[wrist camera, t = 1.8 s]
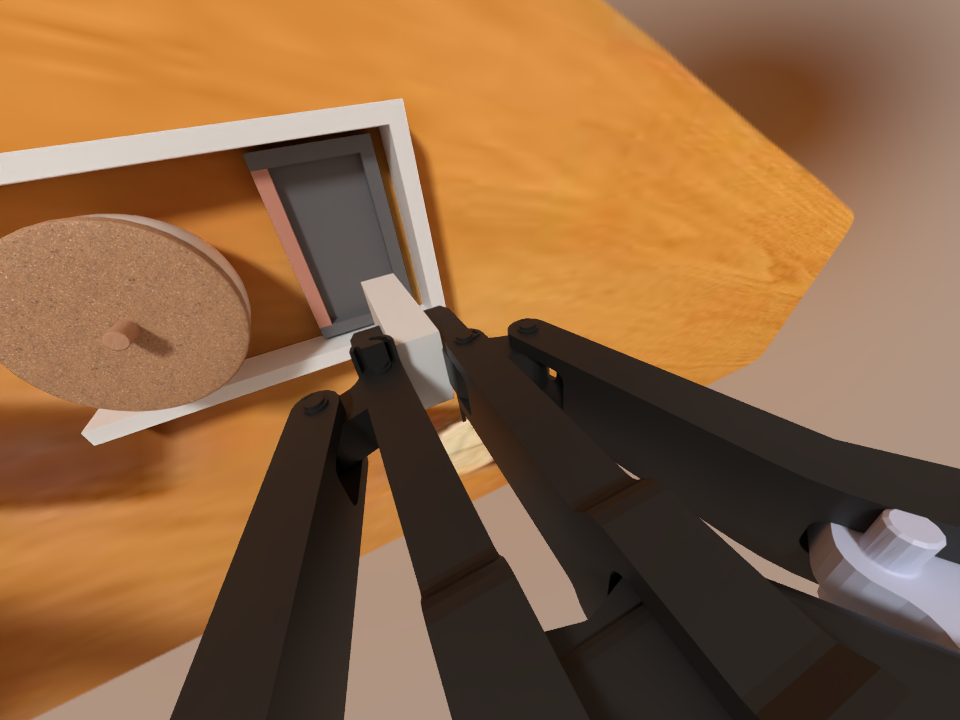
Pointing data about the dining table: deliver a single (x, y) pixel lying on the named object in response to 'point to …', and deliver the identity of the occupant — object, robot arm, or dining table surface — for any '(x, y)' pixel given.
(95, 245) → the lidded jar
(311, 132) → the channel
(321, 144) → the tray
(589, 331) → the dining table surface
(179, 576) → the dining table surface
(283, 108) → the dining table surface
